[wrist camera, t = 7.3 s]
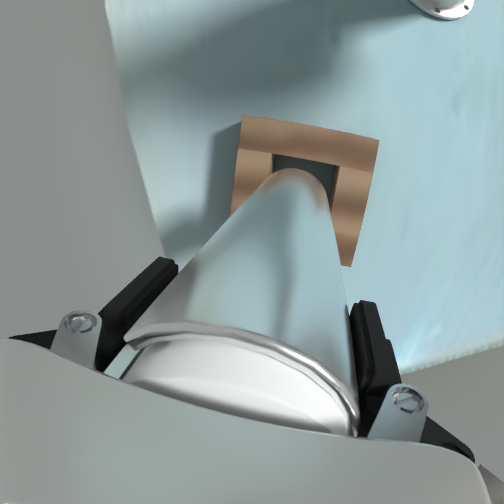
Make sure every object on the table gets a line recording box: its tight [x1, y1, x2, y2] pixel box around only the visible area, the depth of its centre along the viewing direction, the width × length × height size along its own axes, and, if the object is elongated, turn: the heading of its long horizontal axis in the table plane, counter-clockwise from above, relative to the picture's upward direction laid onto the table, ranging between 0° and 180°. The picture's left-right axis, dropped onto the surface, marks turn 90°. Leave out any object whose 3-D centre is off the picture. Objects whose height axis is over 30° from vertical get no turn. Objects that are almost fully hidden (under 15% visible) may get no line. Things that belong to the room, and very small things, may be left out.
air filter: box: [104, 168, 361, 437], centre depth 17 cm, size 6×6×25 cm
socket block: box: [230, 115, 379, 267], centre depth 39 cm, size 16×16×5 cm
